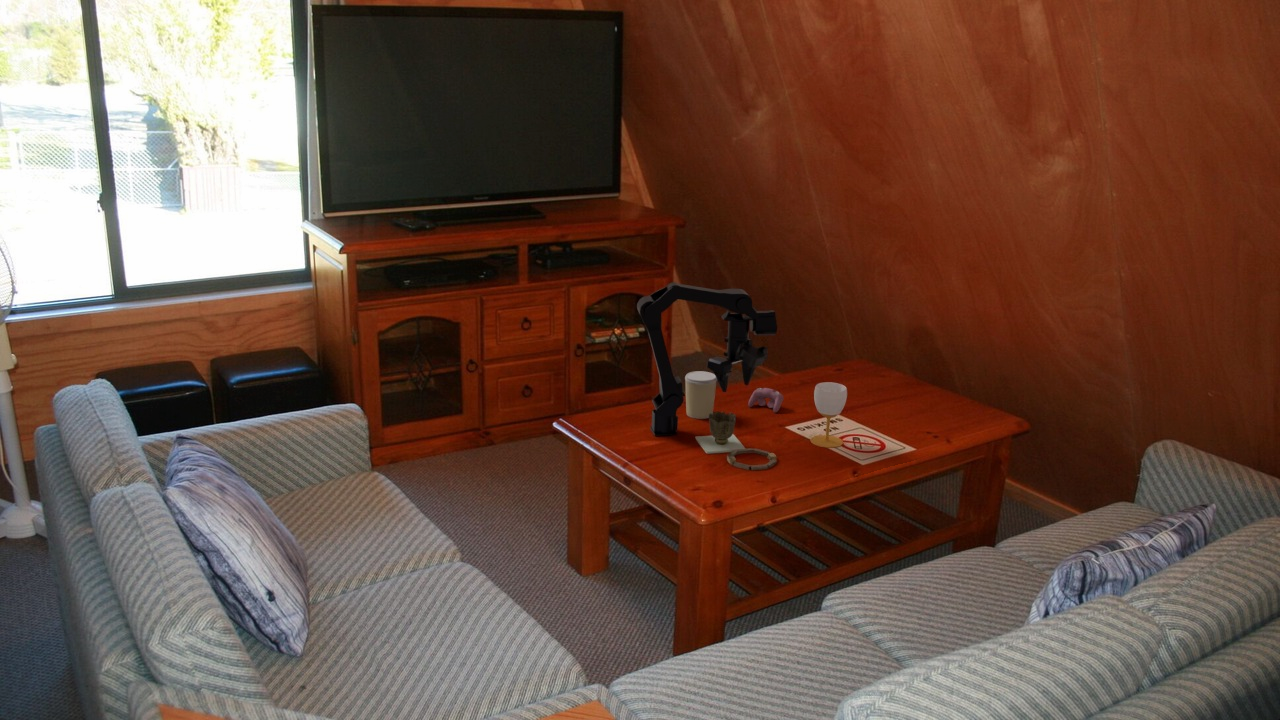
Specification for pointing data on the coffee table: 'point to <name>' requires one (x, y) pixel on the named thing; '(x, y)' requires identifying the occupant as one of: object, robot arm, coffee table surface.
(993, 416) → the coffee table surface
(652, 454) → the coffee table surface
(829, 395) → the cup
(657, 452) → the coffee table surface
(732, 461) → the ring
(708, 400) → the coffee cup
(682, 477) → the coffee table surface
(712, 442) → the felt pad
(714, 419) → the cup
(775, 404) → the video game controller
